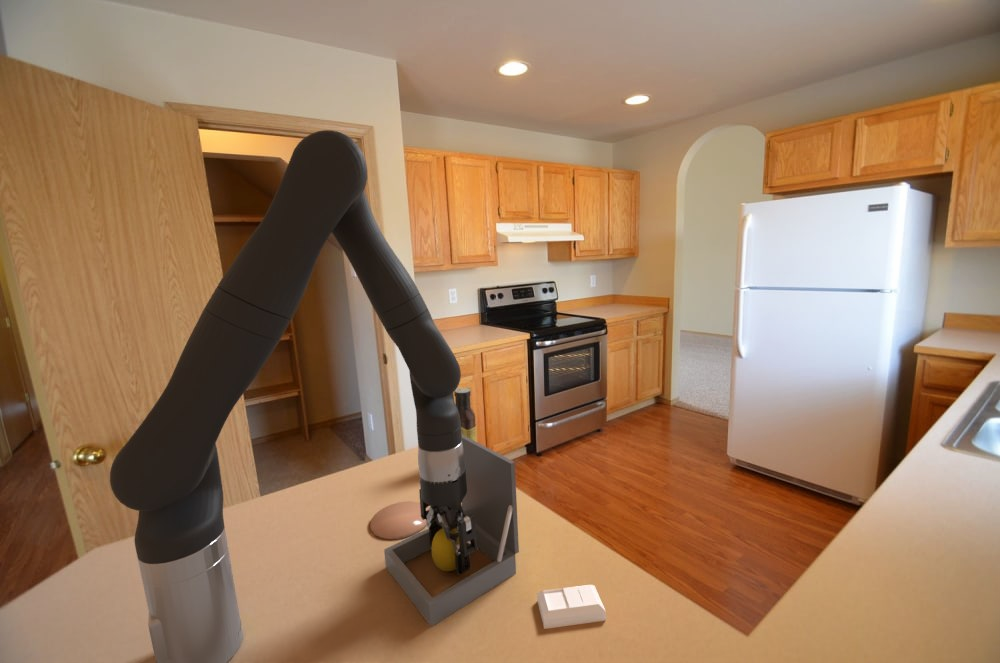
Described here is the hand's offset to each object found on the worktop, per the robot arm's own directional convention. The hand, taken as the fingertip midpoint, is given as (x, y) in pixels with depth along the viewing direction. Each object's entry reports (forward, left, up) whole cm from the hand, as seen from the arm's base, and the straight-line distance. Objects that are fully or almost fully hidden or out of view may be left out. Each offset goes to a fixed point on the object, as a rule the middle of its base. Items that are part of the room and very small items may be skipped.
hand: (449, 557), depth 71 cm
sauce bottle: (+24, +31, -3) cm, 39 cm away
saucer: (0, +19, -2) cm, 19 cm away
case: (0, 0, -2) cm, 2 cm away
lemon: (0, 0, -3) cm, 3 cm away
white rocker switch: (+9, -19, -3) cm, 21 cm away
